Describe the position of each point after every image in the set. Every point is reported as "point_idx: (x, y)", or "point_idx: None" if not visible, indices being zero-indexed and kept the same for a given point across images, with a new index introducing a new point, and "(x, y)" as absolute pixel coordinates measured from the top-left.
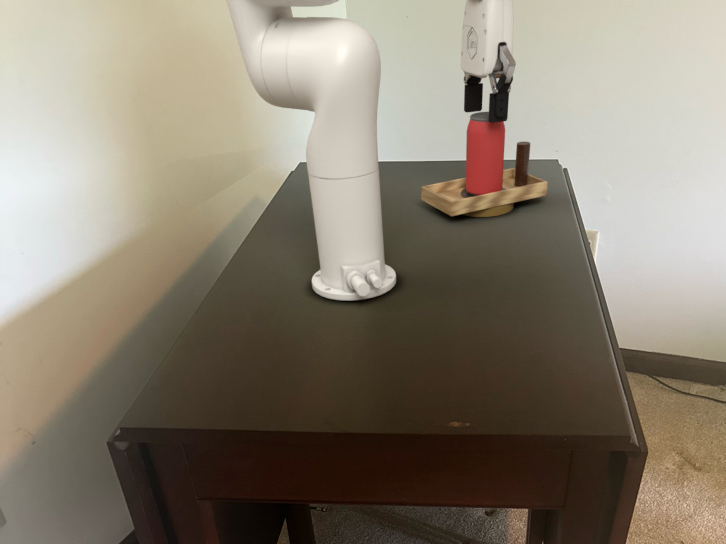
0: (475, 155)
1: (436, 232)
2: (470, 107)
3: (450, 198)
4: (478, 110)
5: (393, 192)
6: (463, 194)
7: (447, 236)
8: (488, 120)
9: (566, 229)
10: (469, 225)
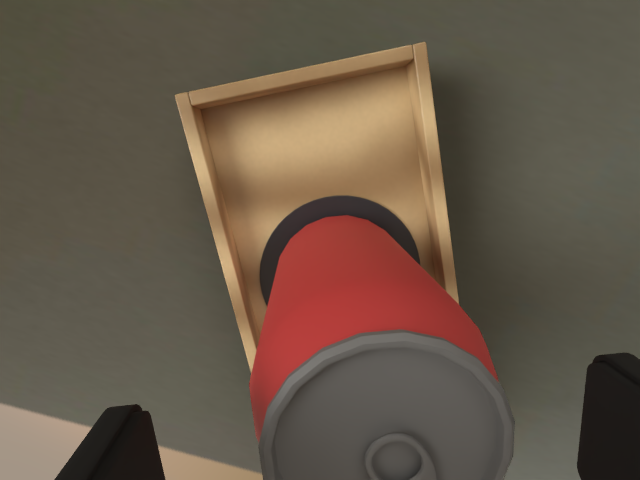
0: (298, 267)
1: (159, 38)
2: (606, 409)
3: (331, 146)
4: (580, 452)
5: (636, 18)
6: (342, 201)
7: (110, 62)
8: (133, 405)
9: (74, 401)
10: (190, 165)
